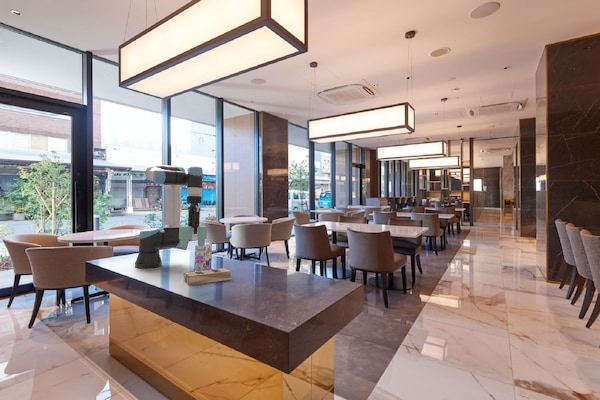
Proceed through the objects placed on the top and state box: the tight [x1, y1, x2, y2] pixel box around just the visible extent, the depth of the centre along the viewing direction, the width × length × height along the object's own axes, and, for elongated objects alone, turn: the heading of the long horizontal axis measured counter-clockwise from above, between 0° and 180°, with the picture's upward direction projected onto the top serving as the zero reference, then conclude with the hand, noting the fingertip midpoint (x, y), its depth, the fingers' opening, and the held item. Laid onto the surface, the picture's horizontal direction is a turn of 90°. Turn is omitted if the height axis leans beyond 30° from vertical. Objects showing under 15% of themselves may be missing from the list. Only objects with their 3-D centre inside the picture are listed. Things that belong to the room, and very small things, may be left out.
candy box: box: [193, 242, 213, 272], centre depth 178 cm, size 14×6×16 cm, turn 179°
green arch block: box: [179, 225, 208, 248], centre depth 157 cm, size 4×13×10 cm, turn 126°
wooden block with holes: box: [183, 267, 232, 286], centre depth 158 cm, size 9×22×4 cm, turn 128°
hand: (193, 239), depth 157 cm, fingers closed on green arch block, 4 cm apart
